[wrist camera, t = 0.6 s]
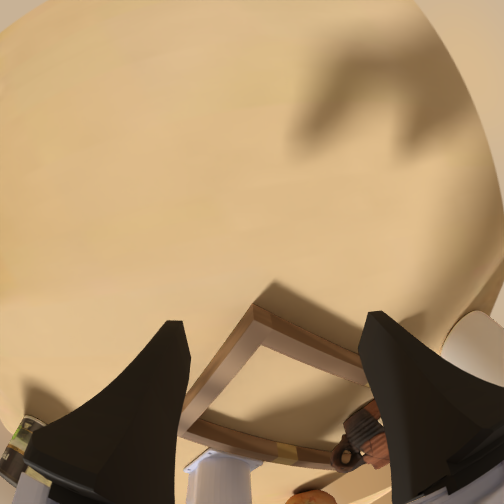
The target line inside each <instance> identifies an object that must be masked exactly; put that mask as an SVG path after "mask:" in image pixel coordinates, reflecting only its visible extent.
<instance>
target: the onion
mask: <svg viewBox="0 0 504 504" xmlns="http://www.w3.org/2000/svg"><path fill="white" fill-rule="evenodd" d="M285 504H337V503H336V501H335V499H334V497H333V496H331V495H330V494H328V493H327V492H324V491H321V490H311V491H307V492H303V493H299V494H296V495H294V496H292V497H291V498H290V499H289V500H288V501H287V502H286V503H285Z"/></svg>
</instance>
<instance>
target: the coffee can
mask: <svg viewBox="0 0 504 504" xmlns="http://www.w3.org/2000/svg"><path fill="white" fill-rule="evenodd" d="M44 426H46V424H45V423H43V422H42V421H40V420H38V419H37V418H35V417H32V416H29V415H25V416H24V417H23V420H22V422H21V423H20V425H19V427H18V428H17V430H16V432H15V433H14V435H13V437H12V439H11V441H10V442H9V444H8V446H7V448H6V450H5V452H4V453H3V455H2V457H1V459H0V476H1V477H3V478H4V479H5V480H6V481H7V482H9V483H10V484H11V485H13V486H14V487H15V488H17V485H18V482H19V479H20V476H21V473H22V472H24V473H26V474H27V475H29V476H31V477H33V478H34V479H36V480H38V481H40V482H42V483H44V484H45V485H47V486H49V487H51V485H52V482H51V481H50V480H48V479H46V478H45V477H43V476H42V475H40V474H39V473H38V472H36V471H35V470H33V469H32V468H31V467H29V466H28V465H27V464H26V463H24V461H23V459H22V458H23V455H24V452H25V450H26V447H27V445H28V442H29V440H30V438H31V435H32V433H33V431H34V430H37V429H39V428H42V427H44Z"/></svg>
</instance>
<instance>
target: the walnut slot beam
mask: <svg viewBox="0 0 504 504" xmlns="http://www.w3.org/2000/svg"><path fill="white" fill-rule="evenodd" d="M260 345H263V346H265V347H268V348H270V349H272V350H274V351H277V352H279V353H281V354H284V355H286V356H288V357H291V358H293V359H295V360H298V361H300V362H303V363H305V364H308V365H310V366H313V367H315V368H318V369H320V370H323V371H325V372H328V373H330V374H333V375H336V376H338V377H341V378H344V379H346V380H349V381H352V382H355V383H358V384H360V385H363V386H366V387H369V388H370V386H369V383H368V381H367V378H366V376H365V373H364V370H363V367H362V363H361V359H360V355H358V354H355V353H353V352H351V351H349V350H347V349H345V348H342V347H340V346H338V345H336V344H334V343H332V342H330V341H327V340H325V339H323V338H321V337H319V336H317V335H315V334H313V333H311V332H309V331H306V330H304V329H302V328H300V327H298V326H296V325H294V324H292V323H290V322H288V321H286V320H284V319H282V318H280V317H278V316H276V315H274V314H272V313H270V312H268V311H266V310H264V309H262V308H260V307H259V306H257V305H255V304H253V303H252V305H251V306H250V308H249V309H248V310H247V312H246V313H245V315H244V316H243V318H242V319H241V320H240V322H239V323H238V325H237V326H236V327H235V329H234V330H233V332H232V333H231V334H230V336H229V337H228V339H227V340H226V341H225V343H224V344H223V345H222V347H221V348H220V350H219V351H218V352H217V354H216V355H215V356H214V358H213V359H212V361H211V362H210V363H209V365H208V366H207V367H206V369H205V370H204V371H203V373H202V374H201V375H200V377H199V378H198V379H197V381H196V382H195V384H194V385H193V386H192V388H191V389H190V390H189V392H188V393H187V394H186V395H185V399H184V403H183V408H182V412H181V417H180V421H179V426H178V432H177V436H178V437H181V438H184V439H187V440H190V441H192V442H195V443H198V444H201V445H205V446H208V447H211V448H214V449H218V450H221V451H225V452H228V453H232V454H236V455H240V456H244V457H248V458H253V459H257V460H262V461H267V462H272V463H278V464H284V465H290V466H297V467H305V468H313V469H323V470H336V469H335V468H333V467H331V463H330V458H331V454H332V452H329V451H322V450H316V449H310V448H304V447H299V446H294V445H289V444H284V443H279V442H275V441H271V440H267V439H263V438H259V437H255V436H252V435H248V434H244V433H241V432H238V431H234V430H231V429H228V428H225V427H222V426H219V425H216V424H213V423H210V422H207V421H204V420H202V419H199V417H200V416H201V414H202V413H203V412H204V411H205V410H206V409H207V408H208V407H209V405H210V404H211V403H212V402H213V401H214V400H215V399H216V398H217V396H218V395H219V394H220V393H221V392H222V391H223V389H224V388H225V387H226V386H227V385H228V384H229V382H230V381H231V380H232V379H233V378H234V377H235V375H236V374H237V373H238V372H239V371H240V369H241V368H242V367H243V366H244V365H245V363H246V362H247V361H248V360H249V358H250V357H251V356H252V355H253V354H254V352H255V351H256V350H257V349H258V347H259V346H260ZM350 457H351V454H345V453H343V454H342V462H343V463H348V462H349V461H350Z"/></svg>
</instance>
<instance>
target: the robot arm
mask: <svg viewBox="0 0 504 504" xmlns="http://www.w3.org/2000/svg"><path fill="white" fill-rule="evenodd" d="M358 351H359V355H360V359H361V363H362V367H363V370H364V373H365V376H366V378H367V381H368V383H369V386H370V388H371V391H372V393H373V396H374V399H375V401H376V404H377V406H378V409H379V412H380V415H381V418H382V421H383V426H384V430H385V435H386V440H387V445H388V451H389V458H390V467H391V480H392V503H393V504H407V503H408V504H504V387H502V386H498V385H496V384H493V383H490V382H487V381H485V380H483V379H480V378H478V377H476V376H474V375H472V374H470V373H468V372H466V371H464V370H462V369H460V368H458V367H457V366H455V365H453V364H452V363H450V362H448V361H447V360H445V359H444V358H442V357H441V356H439V355H438V354H436V353H435V352H434V351H432V350H431V349H429V348H428V347H427V346H425V345H424V344H423V343H421V342H420V341H419V340H418V339H416V338H415V337H414V336H413V335H411V334H410V333H409V332H408V331H407V330H405V329H404V328H403V327H402V326H400V325H399V324H398V323H397V322H396V321H394V320H393V319H392V318H391V317H389V316H388V315H387V314H386V313H384V312H383V311H373V312H368V315H367V318H366V322H365V326H364V329H363V333H362V336H361V340H360V343H359V346H358ZM190 363H191V355H190V351H189V347H188V343H187V339H186V335H185V330H184V326H183V322H182V321H171V320H167V321H166V322H165V323H164V324H163V326H162V327H161V328H160V329H159V331H158V332H157V333H156V334H155V335H154V337H153V338H152V339H151V340H150V342H149V343H148V344H147V345H146V346H145V348H144V349H143V350H142V351H141V352H140V353H139V354H138V356H137V357H136V358H135V359H134V360H133V361H132V362H131V363H130V364H129V365H128V366H127V367H126V369H125V370H124V371H123V372H122V373H121V374H120V375H119V376H118V377H117V378H116V379H115V380H113V381H112V382H111V383H110V384H109V385H108V386H107V387H106V388H104V389H103V390H102V391H101V392H100V393H98V394H97V395H96V396H94V397H93V398H92V399H90V400H89V401H87V402H86V403H85V404H83V405H82V406H80V407H79V408H77V409H76V410H74V411H73V412H71V413H69V414H68V415H66V416H64V417H62V418H60V419H59V420H57V421H55V422H53V423H50V424H48V425H46V426H44V427H42V428H39V429H37V430H34V431H33V433H32V435H31V438H30V440H29V442H28V445H27V447H26V450H25V452H24V455H23V458H22V459H23V461H24V463H26V464H27V465H28V466H29V467H31V468H32V469H33V470H35V471H36V472H38V473H39V474H40V475H42V476H43V477H45V478H46V479H48V480H50V481H51V482H52V485H51V487H49V486H47V485H45V484H44V483H42V482H40V481H38V480H36V479H34V478H33V477H31V476H29V475H27V474H26V473H24V472H22V473H21V476H20V479H19V482H18V485H17V488H16V491H15V495H14V498H13V502H12V504H175V496H174V477H175V454H176V442H177V432H178V426H179V421H180V417H181V412H182V408H183V403H184V399H185V395H186V390H187V386H188V381H189V373H190ZM262 464H263V461H261V460H257V459H252V458H248V457H244V456H239V455H236V454H232V453H228V452H224V451H221V450H217V449H214V448H209V449H208V450H206V451H205V452H204V453H203V454H202V455H200V456H199V457H198V458H197V459H195V460H194V461H193V462H192V463H190V464H189V465H188V466H187V467H185V468H184V469H183V471H184V472H186V473H189V479H188V488H187V498H186V504H252V495H251V475H250V472H251V471H253V470H254V469H256V468H257V467H259V466H260V465H262ZM423 496H425V497H423ZM421 497H422V498H421ZM419 498H420V499H419ZM416 499H418V500H416ZM414 500H416V501H414ZM412 501H413V502H412ZM409 502H411V503H409Z"/></svg>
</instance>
